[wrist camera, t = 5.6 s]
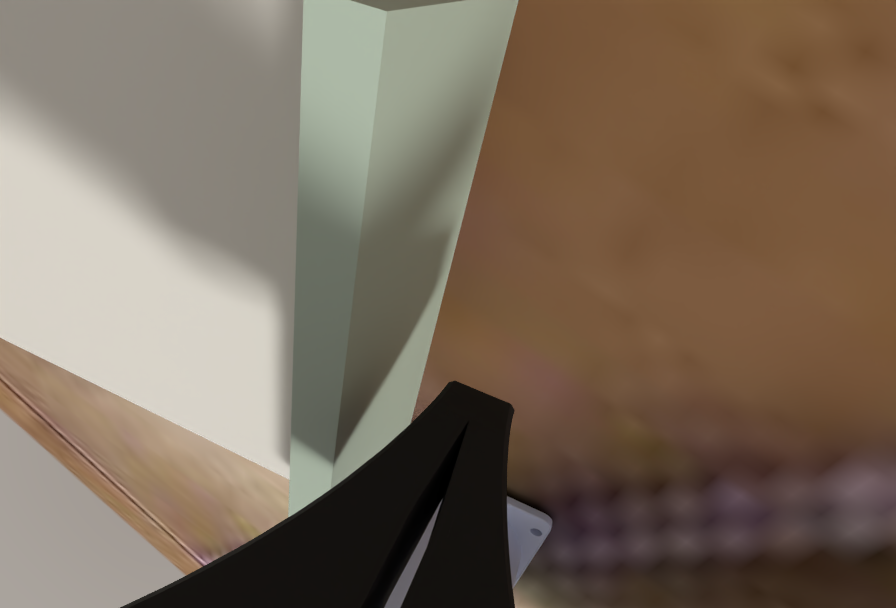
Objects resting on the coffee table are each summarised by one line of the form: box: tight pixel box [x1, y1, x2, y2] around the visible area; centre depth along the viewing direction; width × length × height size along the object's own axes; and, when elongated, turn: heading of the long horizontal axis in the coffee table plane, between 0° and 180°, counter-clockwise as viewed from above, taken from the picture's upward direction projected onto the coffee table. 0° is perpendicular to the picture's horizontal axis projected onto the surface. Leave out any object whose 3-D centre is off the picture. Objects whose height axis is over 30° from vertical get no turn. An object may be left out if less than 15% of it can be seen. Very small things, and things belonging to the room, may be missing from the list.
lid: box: [0, 0, 518, 517], centre depth 14 cm, size 14×20×6 cm
